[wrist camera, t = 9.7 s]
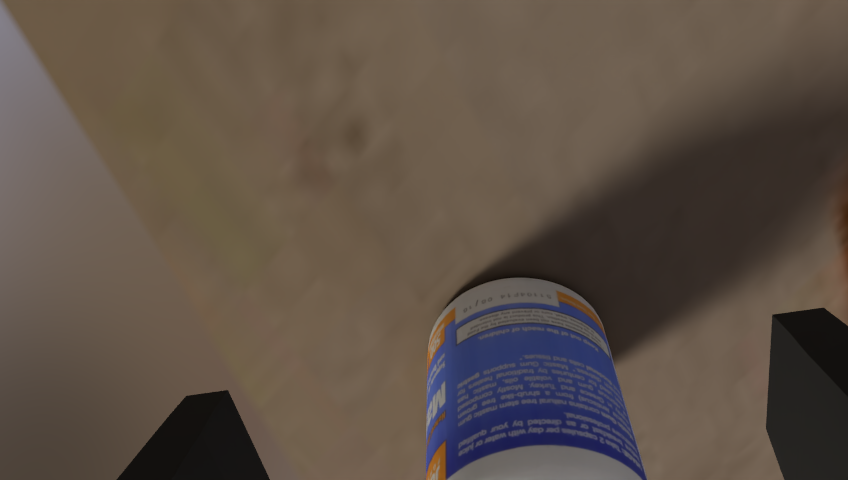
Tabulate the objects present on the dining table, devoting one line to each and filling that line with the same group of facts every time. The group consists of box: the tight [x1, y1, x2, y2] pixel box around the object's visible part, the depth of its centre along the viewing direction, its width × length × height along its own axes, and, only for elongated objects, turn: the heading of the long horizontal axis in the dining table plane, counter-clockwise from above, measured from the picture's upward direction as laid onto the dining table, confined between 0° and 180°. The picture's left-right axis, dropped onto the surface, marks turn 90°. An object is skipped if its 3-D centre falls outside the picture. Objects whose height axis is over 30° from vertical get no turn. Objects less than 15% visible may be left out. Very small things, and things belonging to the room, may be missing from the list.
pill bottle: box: [426, 278, 648, 480], centre depth 19 cm, size 5×5×10 cm
